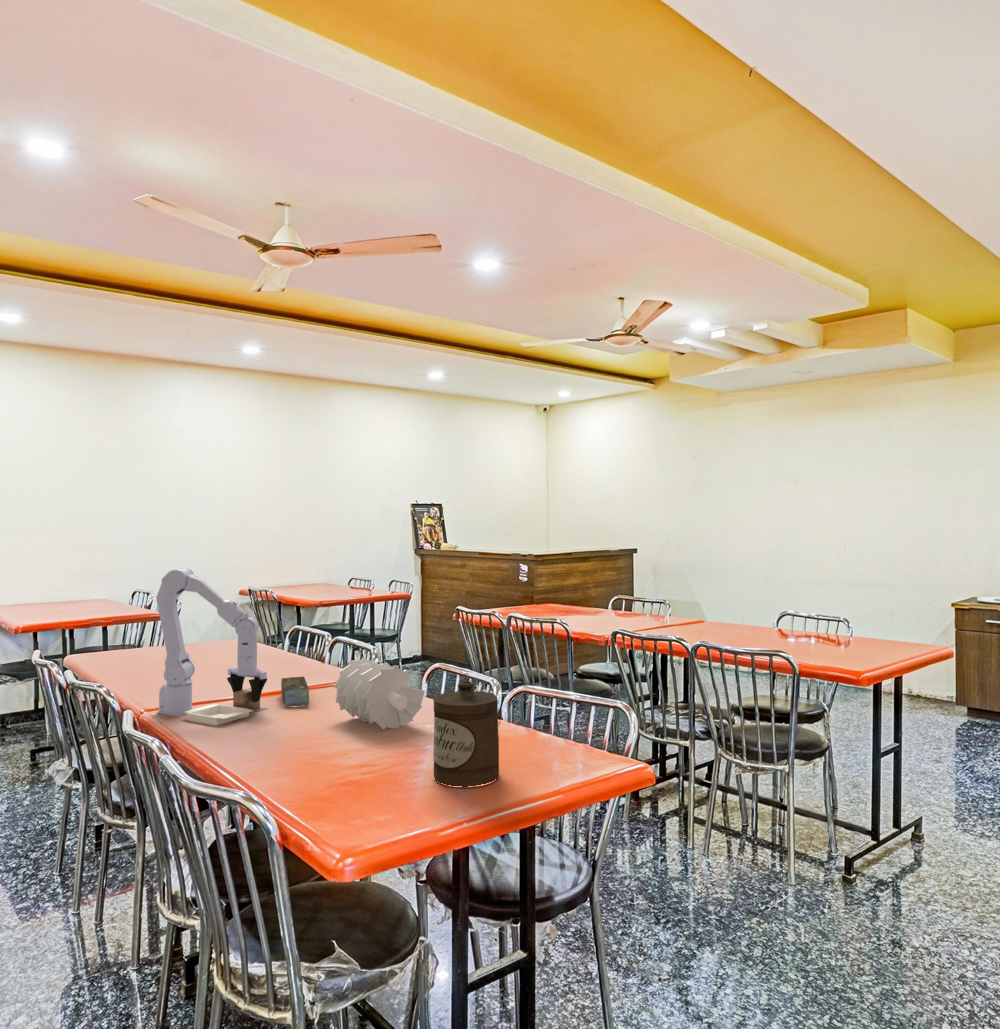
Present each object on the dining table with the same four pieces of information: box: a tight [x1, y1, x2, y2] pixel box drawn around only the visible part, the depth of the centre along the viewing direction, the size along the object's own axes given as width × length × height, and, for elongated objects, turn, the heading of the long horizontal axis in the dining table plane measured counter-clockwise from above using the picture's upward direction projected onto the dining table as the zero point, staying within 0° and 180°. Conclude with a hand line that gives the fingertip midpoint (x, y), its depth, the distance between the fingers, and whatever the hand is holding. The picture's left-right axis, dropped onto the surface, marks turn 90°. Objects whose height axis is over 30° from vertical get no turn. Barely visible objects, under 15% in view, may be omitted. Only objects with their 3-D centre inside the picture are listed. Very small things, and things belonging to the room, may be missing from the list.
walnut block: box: [232, 687, 261, 710], centre depth 230 cm, size 7×4×6 cm, turn 152°
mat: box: [249, 706, 269, 715], centre depth 230 cm, size 9×9×1 cm
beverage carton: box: [280, 676, 310, 708], centre depth 244 cm, size 8×19×7 cm, turn 19°
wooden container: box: [432, 679, 500, 787], centre depth 169 cm, size 15×15×22 cm
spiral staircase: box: [333, 656, 426, 731], centre depth 216 cm, size 18×18×25 cm
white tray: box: [183, 703, 253, 726], centre depth 220 cm, size 17×12×2 cm
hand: (246, 700), depth 230 cm, fingers open, 7 cm apart
